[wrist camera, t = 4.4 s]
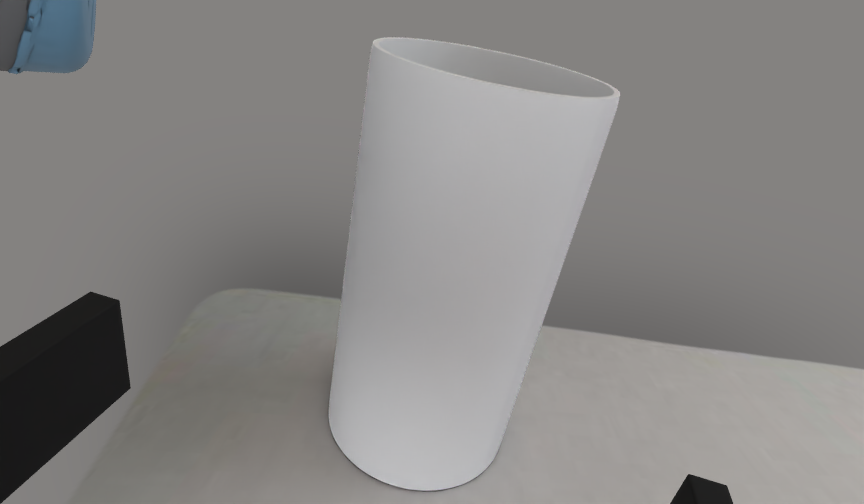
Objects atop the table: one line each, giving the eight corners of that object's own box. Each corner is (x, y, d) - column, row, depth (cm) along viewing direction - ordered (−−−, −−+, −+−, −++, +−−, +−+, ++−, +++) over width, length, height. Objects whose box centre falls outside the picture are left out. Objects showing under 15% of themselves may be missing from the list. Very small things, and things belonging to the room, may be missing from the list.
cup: (419, 337, 29) (481, 43, 22) (534, 430, 25) (663, 96, 17) (293, 397, 24) (319, 29, 16) (411, 530, 19) (522, 102, 12)
